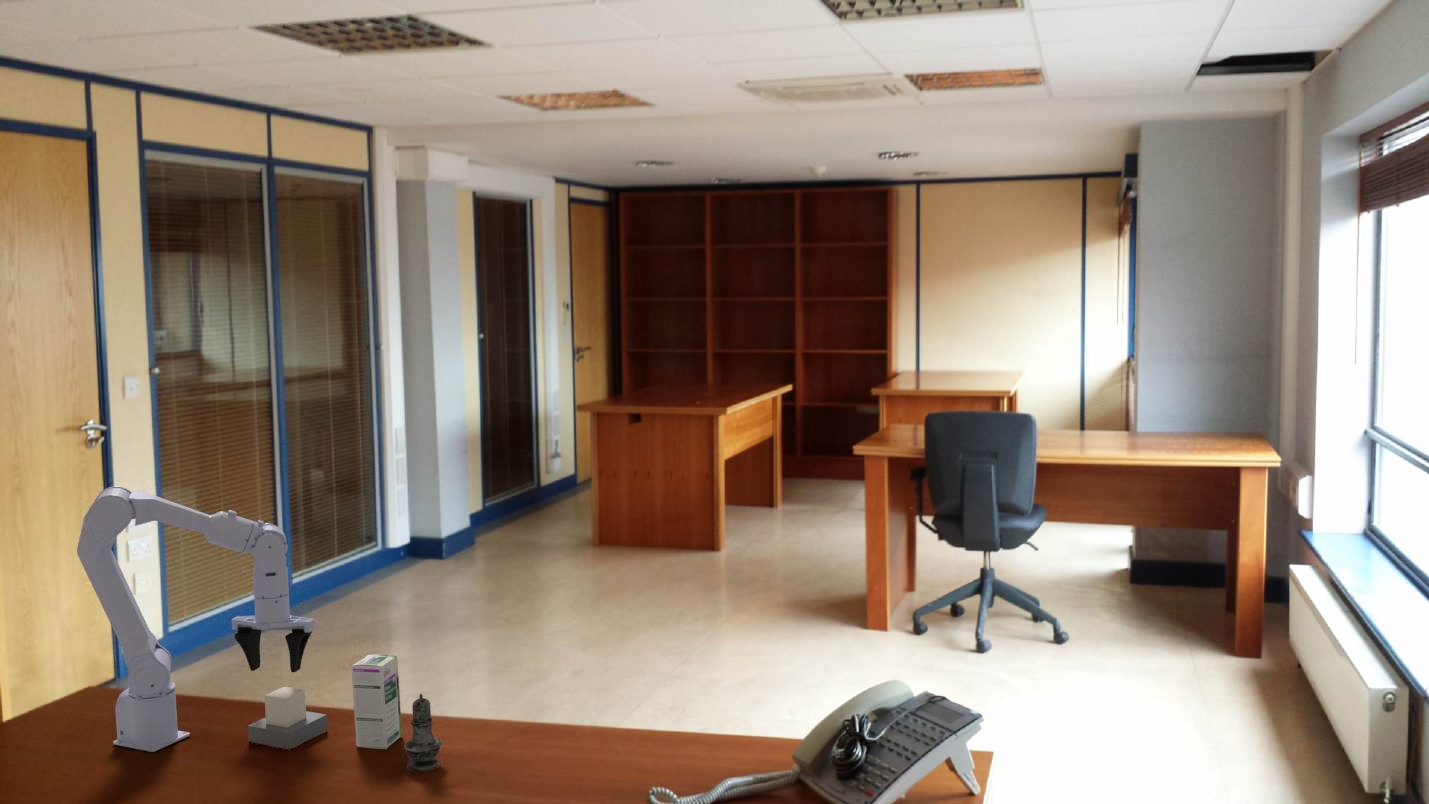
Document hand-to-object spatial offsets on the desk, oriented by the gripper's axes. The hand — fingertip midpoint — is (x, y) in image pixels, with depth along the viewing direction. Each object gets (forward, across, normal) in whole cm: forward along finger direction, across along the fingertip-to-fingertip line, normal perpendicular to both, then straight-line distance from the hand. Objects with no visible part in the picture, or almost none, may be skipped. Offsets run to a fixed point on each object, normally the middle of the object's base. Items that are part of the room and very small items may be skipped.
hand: (275, 669), depth 209 cm
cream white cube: (+7, +5, -6) cm, 10 cm away
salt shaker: (+10, +32, -14) cm, 37 cm away
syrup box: (+10, +21, -6) cm, 24 cm away
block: (+10, +5, -5) cm, 12 cm away
